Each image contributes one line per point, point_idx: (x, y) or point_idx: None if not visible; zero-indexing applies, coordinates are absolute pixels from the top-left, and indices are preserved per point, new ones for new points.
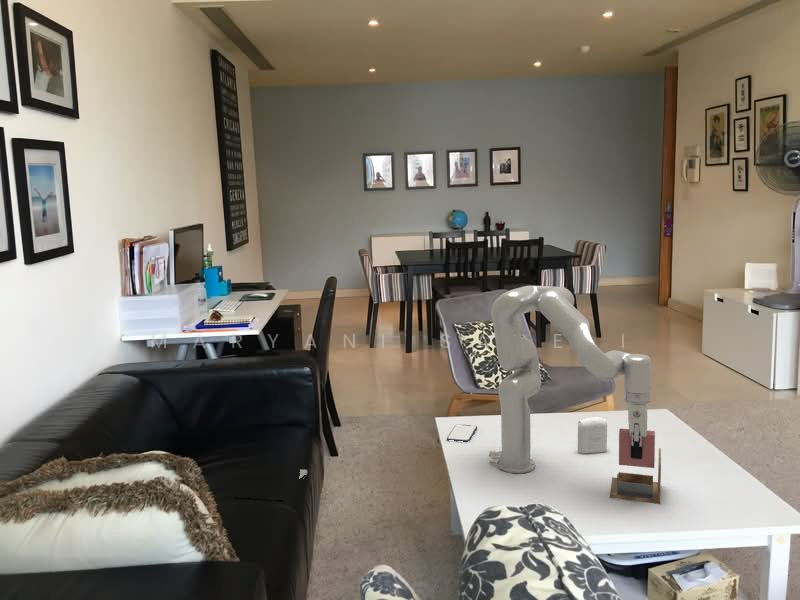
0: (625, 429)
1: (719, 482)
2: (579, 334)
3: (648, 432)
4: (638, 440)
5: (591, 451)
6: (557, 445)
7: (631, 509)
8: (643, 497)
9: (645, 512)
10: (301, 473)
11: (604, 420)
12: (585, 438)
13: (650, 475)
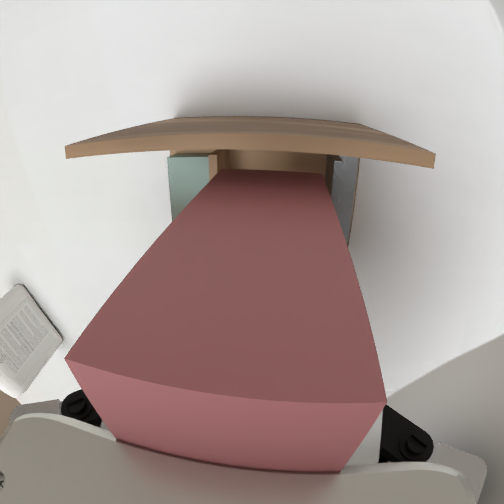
0: None
1: None
2: None
3: (202, 451)
4: (485, 466)
5: (45, 321)
6: (56, 369)
7: (418, 232)
8: (354, 190)
9: (436, 188)
10: None
11: None
12: (36, 359)
13: (209, 167)
